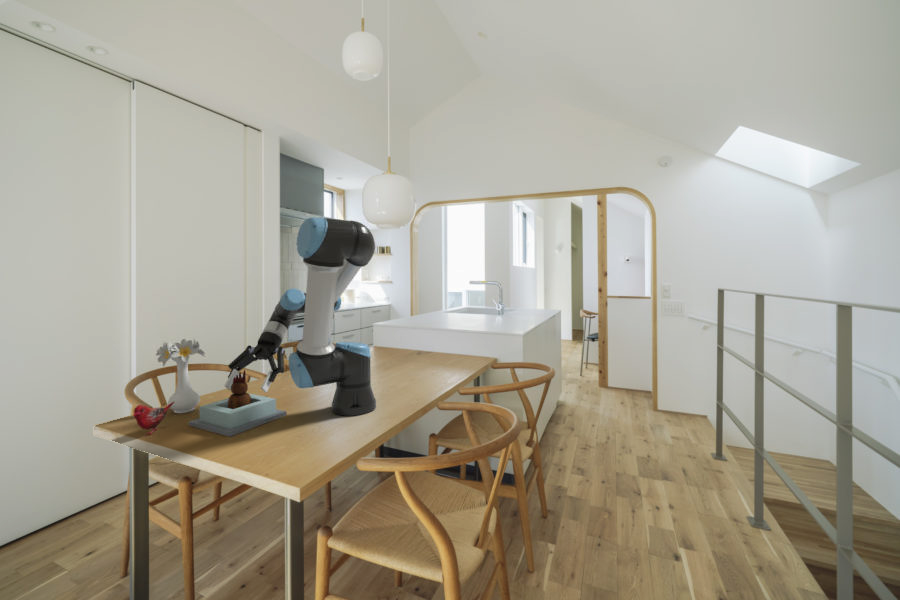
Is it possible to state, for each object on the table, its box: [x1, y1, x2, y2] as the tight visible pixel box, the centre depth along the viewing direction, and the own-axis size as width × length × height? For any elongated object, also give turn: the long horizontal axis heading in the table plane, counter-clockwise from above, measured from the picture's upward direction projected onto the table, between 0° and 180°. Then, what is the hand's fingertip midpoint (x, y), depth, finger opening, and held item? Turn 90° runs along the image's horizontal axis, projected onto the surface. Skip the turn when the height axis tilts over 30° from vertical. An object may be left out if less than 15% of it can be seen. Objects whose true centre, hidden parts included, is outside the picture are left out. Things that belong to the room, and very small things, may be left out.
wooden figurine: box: [228, 370, 252, 409], centre depth 126 cm, size 7×6×15 cm
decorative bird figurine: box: [133, 402, 174, 437], centre depth 118 cm, size 3×18×10 cm, turn 4°
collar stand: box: [188, 392, 287, 438], centre depth 127 cm, size 20×20×6 cm
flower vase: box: [155, 338, 206, 414], centre depth 135 cm, size 13×18×25 cm
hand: (245, 389), depth 130 cm, fingers open, 13 cm apart
